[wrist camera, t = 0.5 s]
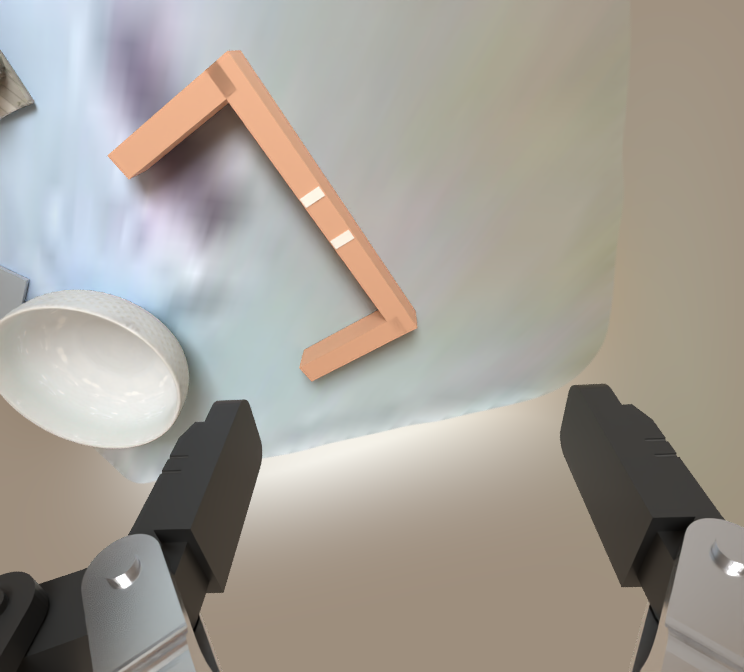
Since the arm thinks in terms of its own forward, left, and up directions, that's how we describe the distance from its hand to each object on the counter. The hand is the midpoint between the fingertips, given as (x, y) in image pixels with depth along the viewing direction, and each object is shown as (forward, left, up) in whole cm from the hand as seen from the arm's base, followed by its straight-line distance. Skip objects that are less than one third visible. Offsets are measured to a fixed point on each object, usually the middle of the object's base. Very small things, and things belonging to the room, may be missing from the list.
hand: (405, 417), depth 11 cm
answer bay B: (-5, -10, -29) cm, 31 cm away
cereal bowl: (-14, -30, -29) cm, 43 cm away
